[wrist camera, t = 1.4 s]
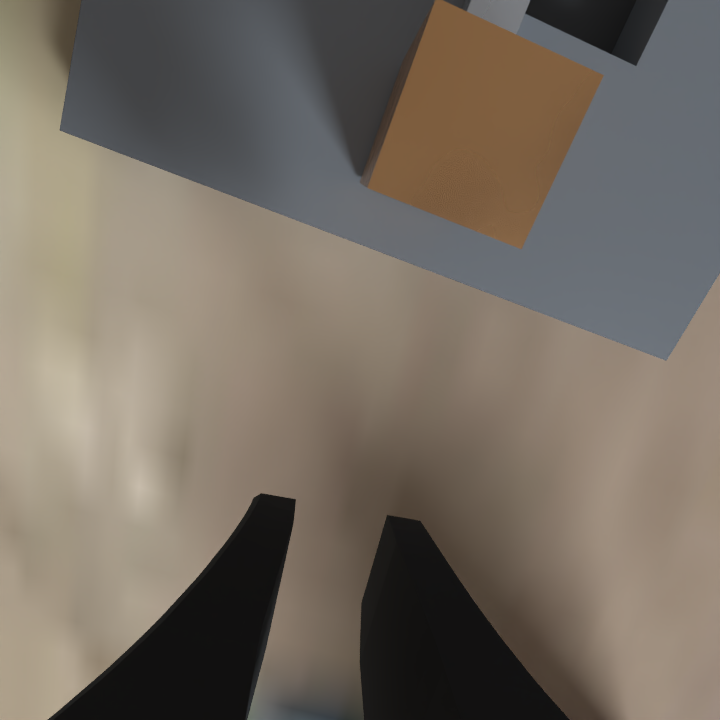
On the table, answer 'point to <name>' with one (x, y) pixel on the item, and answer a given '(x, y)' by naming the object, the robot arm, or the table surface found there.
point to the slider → (479, 120)
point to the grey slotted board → (364, 115)
